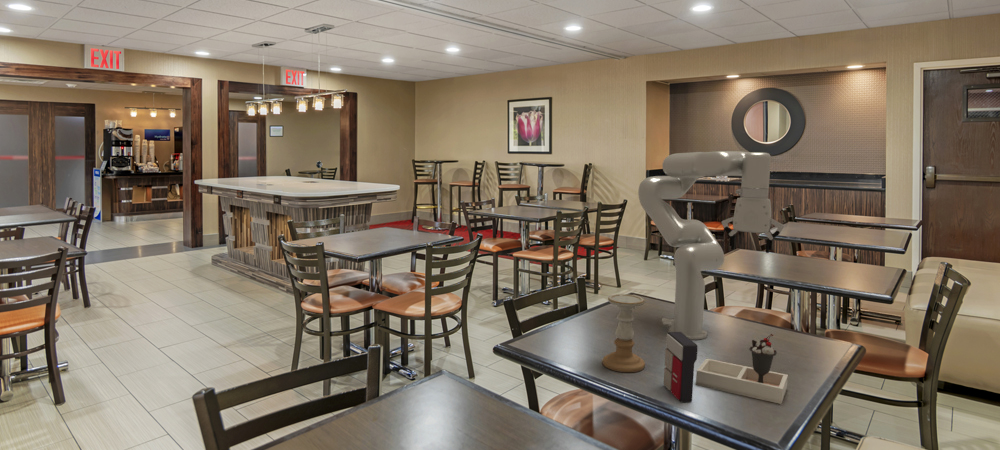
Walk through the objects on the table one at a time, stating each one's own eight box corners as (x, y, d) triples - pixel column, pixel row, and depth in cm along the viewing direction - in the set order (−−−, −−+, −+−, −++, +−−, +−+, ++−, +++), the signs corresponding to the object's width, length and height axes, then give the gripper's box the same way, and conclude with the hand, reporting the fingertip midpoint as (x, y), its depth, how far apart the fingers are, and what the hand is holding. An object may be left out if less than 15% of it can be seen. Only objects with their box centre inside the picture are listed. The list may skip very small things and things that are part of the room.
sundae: (777, 393, 146) (781, 337, 144) (749, 391, 148) (753, 335, 146) (770, 383, 153) (774, 329, 151) (743, 381, 154) (747, 327, 152)
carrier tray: (695, 384, 154) (696, 370, 153) (705, 371, 163) (706, 358, 162) (781, 404, 143) (782, 389, 142) (786, 389, 152) (788, 374, 151)
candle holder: (594, 360, 171) (596, 295, 168) (628, 355, 176) (631, 291, 173) (618, 375, 160) (621, 305, 157) (653, 369, 164) (657, 301, 162)
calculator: (661, 385, 153) (664, 331, 151) (677, 384, 154) (680, 331, 152) (677, 402, 143) (681, 345, 141) (694, 402, 143) (697, 345, 141)
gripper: (721, 193, 171) (717, 249, 173) (784, 196, 161) (780, 255, 164) (726, 191, 177) (722, 246, 179) (788, 194, 168) (783, 252, 170)
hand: (750, 250), depth 171 cm, fingers open, 9 cm apart
